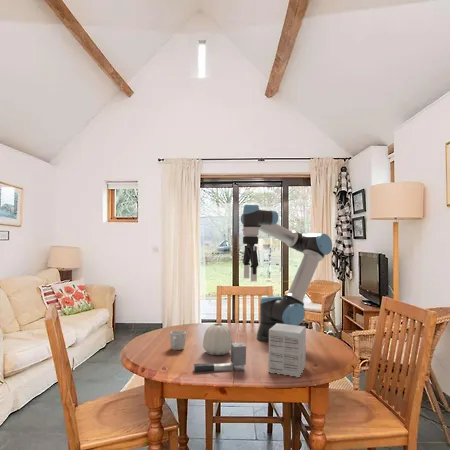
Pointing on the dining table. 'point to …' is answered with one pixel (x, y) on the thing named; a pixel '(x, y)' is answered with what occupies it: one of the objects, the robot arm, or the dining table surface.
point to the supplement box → (287, 349)
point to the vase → (217, 340)
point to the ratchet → (217, 367)
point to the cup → (177, 339)
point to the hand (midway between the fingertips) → (250, 279)
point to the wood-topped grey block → (238, 353)
